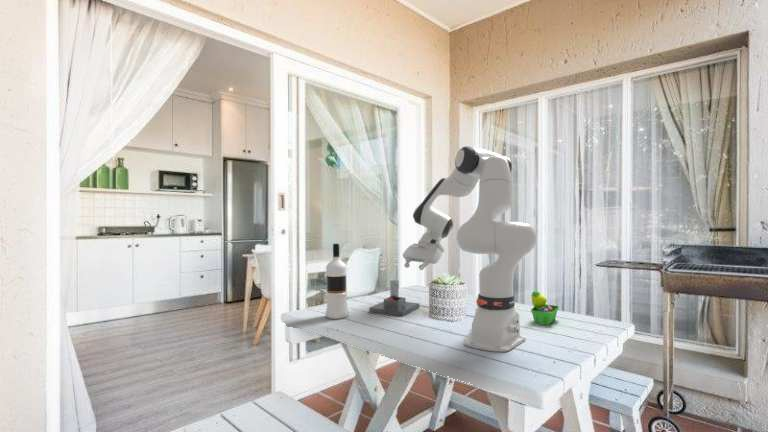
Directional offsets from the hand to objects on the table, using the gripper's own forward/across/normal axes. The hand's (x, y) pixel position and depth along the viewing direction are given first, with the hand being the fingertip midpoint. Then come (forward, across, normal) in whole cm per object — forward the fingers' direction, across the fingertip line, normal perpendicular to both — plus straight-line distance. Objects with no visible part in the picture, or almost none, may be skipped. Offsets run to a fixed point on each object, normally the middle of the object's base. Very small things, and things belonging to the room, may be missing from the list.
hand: (413, 268), depth 183 cm
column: (+19, 0, +2) cm, 19 cm away
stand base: (+20, 0, +4) cm, 20 cm away
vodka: (+37, -8, -13) cm, 40 cm away
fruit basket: (-1, +52, +26) cm, 58 cm away
